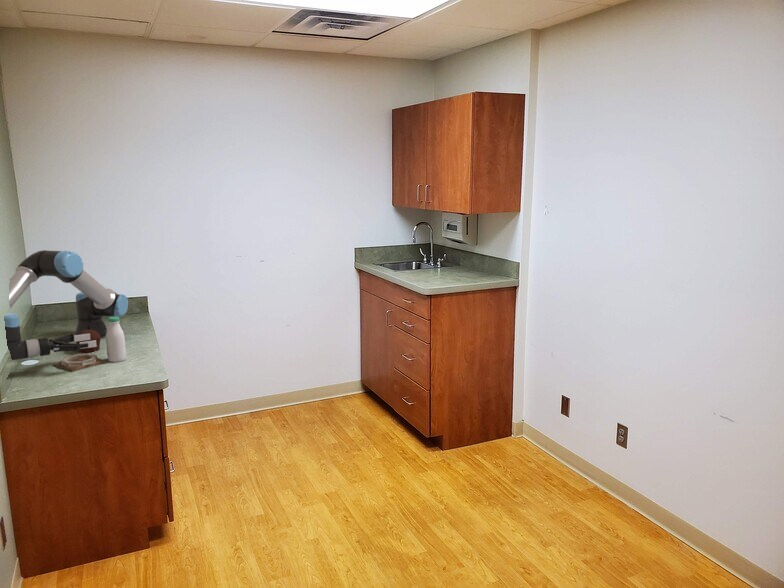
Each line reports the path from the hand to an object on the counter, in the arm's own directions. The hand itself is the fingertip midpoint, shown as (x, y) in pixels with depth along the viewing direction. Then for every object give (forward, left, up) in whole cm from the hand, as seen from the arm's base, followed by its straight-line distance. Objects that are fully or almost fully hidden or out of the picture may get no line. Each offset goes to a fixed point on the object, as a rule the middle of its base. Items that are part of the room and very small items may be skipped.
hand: (93, 339), depth 270 cm
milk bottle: (-9, +3, -11) cm, 14 cm away
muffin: (-9, -21, -11) cm, 26 cm away
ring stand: (+5, -5, -11) cm, 13 cm away
